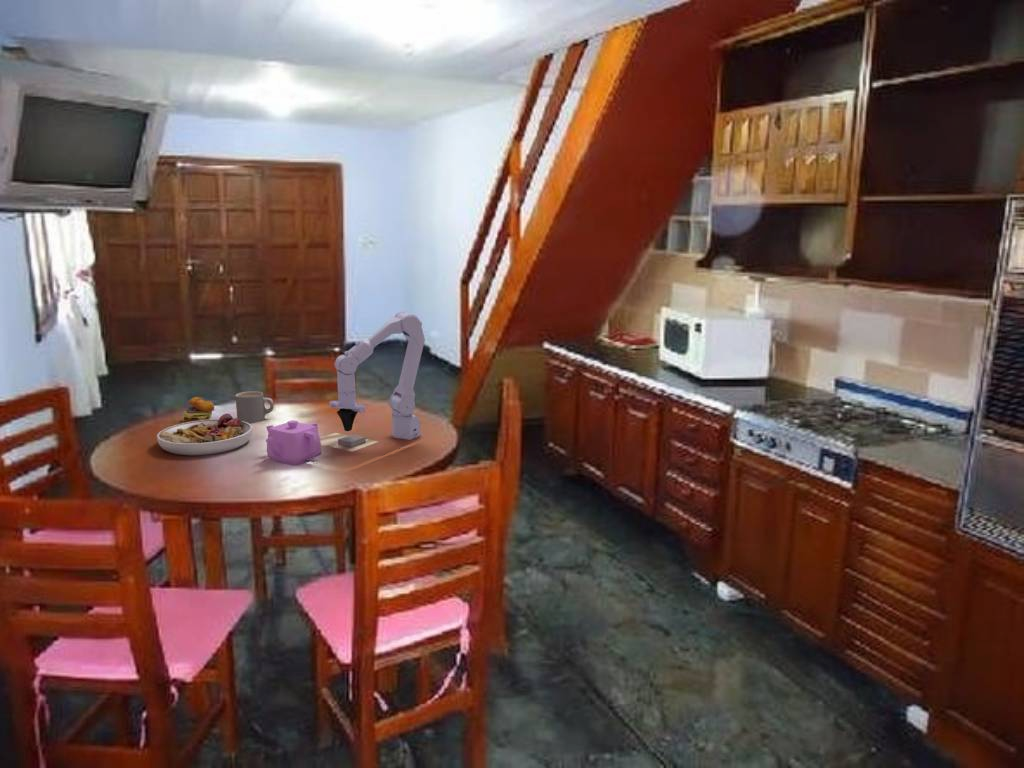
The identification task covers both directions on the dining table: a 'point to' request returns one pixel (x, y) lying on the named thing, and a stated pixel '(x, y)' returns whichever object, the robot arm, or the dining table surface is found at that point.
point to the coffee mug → (252, 406)
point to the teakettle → (293, 442)
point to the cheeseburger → (198, 410)
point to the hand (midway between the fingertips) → (348, 430)
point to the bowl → (205, 436)
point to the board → (333, 442)
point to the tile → (351, 440)
